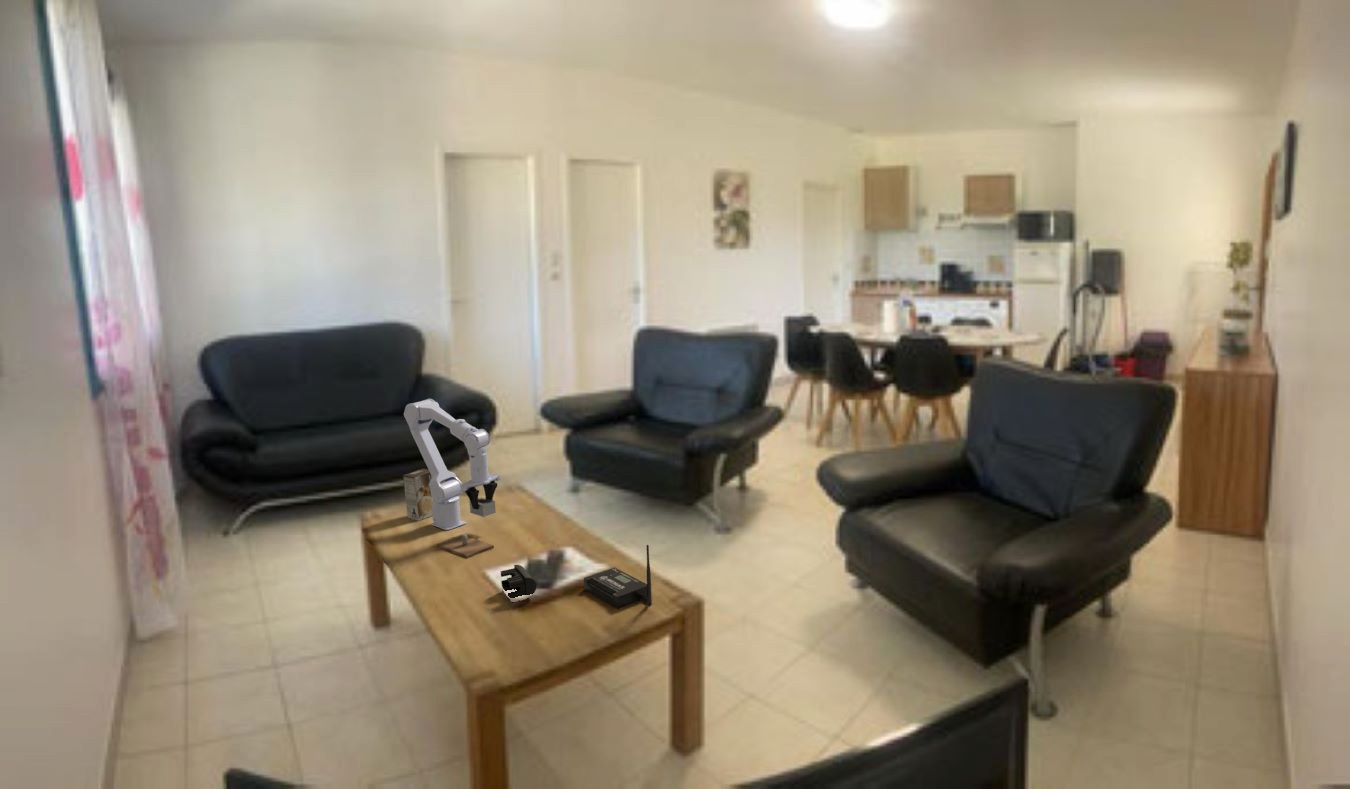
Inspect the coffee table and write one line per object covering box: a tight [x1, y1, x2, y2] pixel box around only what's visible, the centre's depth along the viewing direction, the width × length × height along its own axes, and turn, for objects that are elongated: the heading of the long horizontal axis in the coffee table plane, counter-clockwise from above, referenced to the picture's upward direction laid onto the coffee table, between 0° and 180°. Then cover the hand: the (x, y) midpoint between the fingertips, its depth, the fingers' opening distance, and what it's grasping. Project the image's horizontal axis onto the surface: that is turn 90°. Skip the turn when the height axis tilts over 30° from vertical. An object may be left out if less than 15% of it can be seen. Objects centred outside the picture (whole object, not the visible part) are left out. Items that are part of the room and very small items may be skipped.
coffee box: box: [402, 468, 434, 522], centre depth 282 cm, size 9×6×16 cm
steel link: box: [469, 497, 497, 518], centre depth 264 cm, size 7×5×4 cm
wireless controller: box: [583, 544, 653, 610], centre depth 214 cm, size 20×14×17 cm
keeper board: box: [436, 533, 495, 559], centre depth 253 cm, size 16×10×4 cm, turn 50°
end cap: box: [500, 564, 537, 598], centre depth 218 cm, size 10×7×7 cm
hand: (482, 506), depth 264 cm, fingers closed on steel link, 5 cm apart
